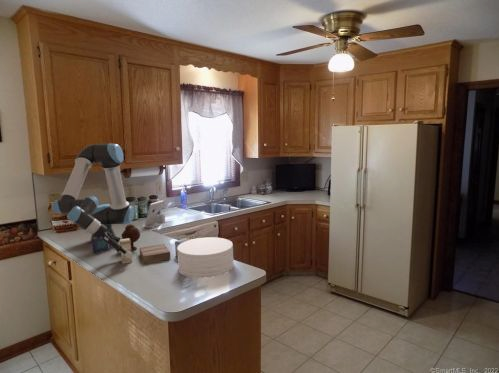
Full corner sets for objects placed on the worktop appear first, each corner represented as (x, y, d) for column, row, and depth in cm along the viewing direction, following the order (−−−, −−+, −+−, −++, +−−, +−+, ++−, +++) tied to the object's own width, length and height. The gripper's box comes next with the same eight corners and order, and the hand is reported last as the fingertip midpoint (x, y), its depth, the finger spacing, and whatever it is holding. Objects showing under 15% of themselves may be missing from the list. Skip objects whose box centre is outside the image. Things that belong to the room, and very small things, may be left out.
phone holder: (156, 221, 273) (155, 199, 270) (167, 222, 268) (165, 199, 266) (141, 226, 257) (139, 203, 254) (151, 228, 253) (150, 204, 250)
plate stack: (239, 258, 186) (238, 238, 184) (224, 280, 159) (223, 256, 157) (191, 255, 192) (190, 236, 191) (168, 276, 165) (167, 253, 164)
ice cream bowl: (118, 251, 203) (116, 226, 200) (131, 245, 213) (129, 222, 211) (133, 253, 199) (131, 228, 197) (145, 247, 209) (143, 223, 207)
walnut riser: (140, 254, 196) (139, 247, 196) (164, 250, 202) (164, 243, 202) (144, 263, 182) (143, 256, 182) (170, 258, 188) (170, 251, 187)
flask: (107, 248, 208) (106, 231, 206) (110, 249, 206) (108, 232, 204) (92, 253, 201) (90, 235, 199) (94, 254, 199) (93, 236, 198)
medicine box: (186, 252, 198) (185, 237, 197) (191, 253, 196) (190, 239, 194) (175, 256, 192) (174, 241, 191) (180, 257, 189) (179, 242, 188)
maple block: (121, 260, 187) (119, 239, 185) (131, 259, 189) (129, 238, 187) (122, 263, 183) (120, 242, 181) (132, 262, 185) (130, 240, 183)
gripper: (91, 228, 188) (122, 250, 196) (91, 241, 165) (126, 265, 174) (101, 218, 189) (131, 240, 198) (102, 229, 167) (136, 253, 175)
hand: (129, 252), depth 186 cm, fingers open, 13 cm apart
